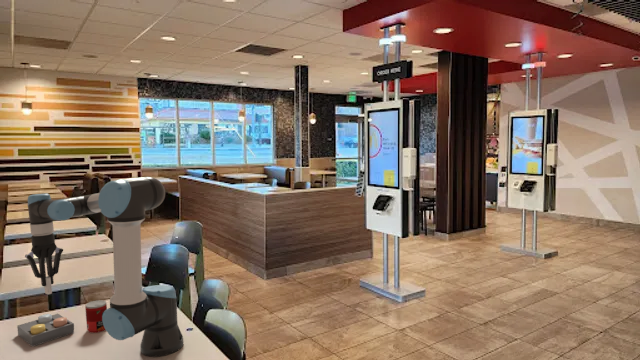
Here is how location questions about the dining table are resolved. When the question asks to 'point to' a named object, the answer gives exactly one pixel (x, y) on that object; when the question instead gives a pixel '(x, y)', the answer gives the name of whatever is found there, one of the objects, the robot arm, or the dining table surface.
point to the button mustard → (37, 329)
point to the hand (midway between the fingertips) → (48, 293)
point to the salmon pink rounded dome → (60, 322)
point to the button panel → (49, 334)
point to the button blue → (44, 318)
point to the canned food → (95, 315)
